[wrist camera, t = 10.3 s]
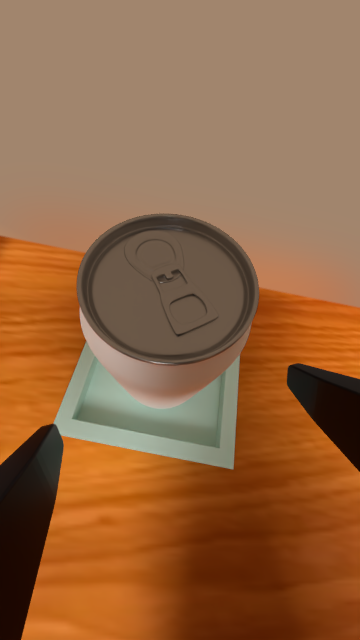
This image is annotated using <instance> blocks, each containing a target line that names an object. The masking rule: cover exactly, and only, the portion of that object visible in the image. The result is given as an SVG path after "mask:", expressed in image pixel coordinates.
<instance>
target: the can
mask: <svg viewBox="0 0 360 640" xmlns="http://www.w3.org/2000/svg"><path fill="white" fill-rule="evenodd" d="M77 296H78V301H79V305H80V322H81V327H82V331H83V334H84V336H85V339H86V341H87V343H88V345H89V347H90V349H91V350H92V352H93V354H94V355H95V356H96V358H97V359H98V360H99V362H100V363H101V364H102V365H103V366H104V367H105V369H106V370H107V371H108V372H109V373H110V374H111V375H112V376H113V377H114V378H115V380H116V381H117V382H118V383H119V384H120V385H121V386H122V387H123V388H124V389H125V390H126V391H127V392H128V393H129V394H130V395H131V396H132V397H133V398H134V399H135V400H137V401H138V402H140V403H141V404H143V405H145V406H148V407H151V408H156V409H168V408H172V407H176V406H178V405H180V404H182V403H184V402H186V401H187V400H189V399H190V398H191V397H193V396H194V395H195V394H197V393H198V392H199V391H201V390H202V389H203V388H205V387H206V386H207V385H208V384H210V383H211V382H212V381H213V380H215V379H216V378H217V377H218V376H220V375H221V374H222V373H223V372H224V371H225V370H226V369H227V368H228V367H229V366H230V365H231V364H232V363H233V362H234V361H235V360H236V358H237V357H238V356H239V354H240V353H241V351H242V350H243V348H244V346H245V344H246V342H247V339H248V336H249V333H250V329H251V323H252V321H253V319H254V316H255V313H256V310H257V306H258V300H259V285H258V279H257V275H256V272H255V269H254V267H253V265H252V263H251V261H250V259H249V257H248V256H247V254H246V253H245V252H244V250H243V249H242V248H241V247H240V245H239V244H238V243H237V242H236V241H235V240H234V239H232V238H231V237H230V236H229V235H227V234H226V233H225V232H223V231H222V230H220V229H219V228H217V227H215V226H213V225H211V224H209V223H207V222H204V221H201V220H199V219H196V218H192V217H188V216H183V215H177V214H151V215H144V216H139V217H136V218H132V219H129V220H126V221H124V222H122V223H120V224H118V225H116V226H114V227H112V228H110V229H109V230H107V231H106V232H105V233H104V234H102V235H101V236H100V237H99V238H98V239H97V240H96V241H95V242H94V243H93V244H92V245H91V247H90V248H89V249H88V251H87V252H86V254H85V256H84V258H83V260H82V262H81V265H80V268H79V271H78V276H77Z"/></svg>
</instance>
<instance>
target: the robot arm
mask: <svg viewBox="0 0 360 640" xmlns="http://www.w3.org/2000/svg"><path fill="white" fill-rule="evenodd" d="M287 385H288V387H289V389H290V390H291V391H292V393H293V394H294V395H295V397H296V398H297V399H298V401H299V402H300V403H301V405H302V406H303V407H304V409H305V410H306V411H307V413H308V414H309V415H310V417H311V418H312V419H313V420H314V421H315V423H316V424H317V425H318V426H319V427H320V428H321V429H322V431H323V432H324V433H325V434H326V435H327V436H328V437H329V438H330V439H331V441H332V442H333V443H334V444H335V445H336V446H337V447H338V448H339V449H340V451H341V452H342V453H343V454H344V455H345V456H346V457H347V458H348V459H349V460H350V462H351V463H352V464H353V465H354V466H355V467H356V468H357V469H358V470H359V472H360V379H357V378H353V377H349V376H345V375H341V374H338V373H334V372H330V371H326V370H322V369H319V368H315V367H311V366H307V365H303V364H299V363H297V364H293V365H290V366H289V367H288V374H287ZM62 455H63V440H62V438H61V435H60V433H59V430H58V427H57V425H56V424H50V425H46V426H42V427H40V428H39V429H38V430H37V431H36V432H35V433H34V434H33V435H32V436H31V437H30V438H29V439H28V440H26V441H25V442H24V443H23V444H22V445H21V446H20V447H19V448H18V449H17V450H16V451H15V452H14V453H13V454H12V455H10V456H9V457H8V458H7V459H6V460H5V461H4V462H3V463H2V464H1V465H0V640H21V637H22V633H23V629H24V625H25V621H26V617H27V613H28V609H29V605H30V601H31V597H32V593H33V589H34V585H35V581H36V577H37V573H38V569H39V565H40V561H41V557H42V553H43V549H44V545H45V541H46V537H47V533H48V529H49V525H50V521H51V517H52V513H53V509H54V505H55V500H56V495H57V489H58V482H59V475H60V468H61V461H62Z"/></svg>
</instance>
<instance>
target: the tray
mask: <svg viewBox="0 0 360 640" xmlns="http://www.w3.org/2000/svg"><path fill="white" fill-rule="evenodd" d="M239 362H240V354H239V356H238V357H237V358H236V360H235V361H234V362H233V363H232V364H231V365H230V366H229V367H228V368H227V369H226V370H225V371H224V372H223V373H222V374H221V375H220V376H218V377H217V378H216V379H215V380H213V381H212V382H211V383H210V384H208V385H207V386H206V387H205V388H203V389H202V390H201V391H199V392H198V393H197V394H195V395H194V396H193V397H191V398H190V399H189V400H187V401H186V402H184V403H182V404H180V405H178V406H176V407H172V408H168V409H156V408H151V407H148V406H145V405H143V404H141V403H140V402H138V401H137V400H135V399H134V398H133V397H132V396H131V395H130V394H129V393H128V392H127V391H126V390H125V389H124V388H123V387H122V386H121V385H120V384H119V383H118V382H117V381H116V380H115V378H114V377H113V376H112V375H111V374H110V373H109V372H108V371H107V370H106V369H105V367H104V366H103V365H102V364H101V363H100V362H99V360H98V359H97V358H96V356H95V355H94V354H93V352H92V350H91V349H90V347H89V345H88V343H87V341H86V343H85V346H84V348H83V351H82V353H81V356H80V358H79V361H78V363H77V366H76V368H75V371H74V373H73V376H72V378H71V381H70V383H69V386H68V388H67V391H66V393H65V396H64V398H63V401H62V403H61V406H60V408H59V411H58V413H57V416H56V418H55V421H54V424H56V425H57V427H58V430H59V433H60V435H62V436H67V437H72V438H77V439H82V440H87V441H92V442H97V443H102V444H107V445H112V446H118V447H123V448H128V449H133V450H138V451H143V452H148V453H153V454H158V455H163V456H168V457H173V458H178V459H183V460H188V461H193V462H198V463H203V464H208V465H213V466H218V467H223V468H228V469H233V470H234V452H235V434H236V416H237V398H238V380H239Z"/></svg>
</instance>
